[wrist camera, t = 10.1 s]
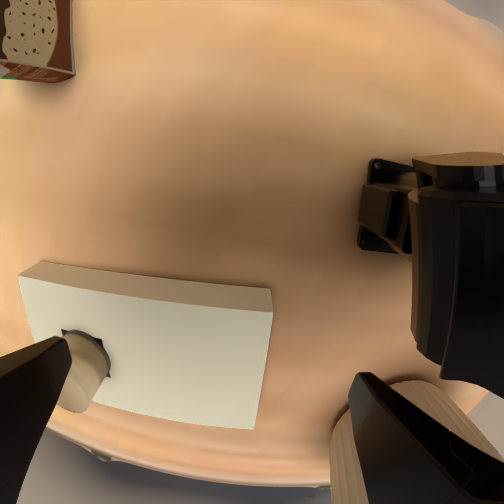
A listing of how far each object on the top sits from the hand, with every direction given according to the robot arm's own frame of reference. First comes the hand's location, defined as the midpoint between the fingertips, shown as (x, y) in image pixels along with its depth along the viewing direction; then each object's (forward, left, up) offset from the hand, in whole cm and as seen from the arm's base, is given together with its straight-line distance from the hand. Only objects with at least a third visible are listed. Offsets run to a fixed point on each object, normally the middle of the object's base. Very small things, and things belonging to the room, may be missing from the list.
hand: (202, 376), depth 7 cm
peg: (+11, +9, -12) cm, 19 cm away
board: (+7, +9, -13) cm, 17 cm away
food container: (+18, -16, -13) cm, 28 cm away
